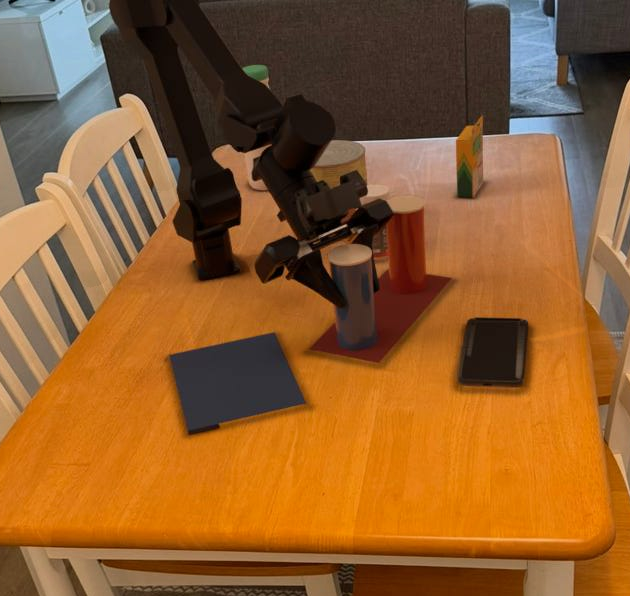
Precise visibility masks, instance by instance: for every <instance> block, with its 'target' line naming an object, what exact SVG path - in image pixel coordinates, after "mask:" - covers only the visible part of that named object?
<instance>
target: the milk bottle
mask: <svg viewBox="0 0 630 596" xmlns="http://www.w3.org/2000/svg"><path fill="white" fill-rule="evenodd" d="M241 68H242V69H243V70H244V71H245V73H246V74H247V75H248V76H250V77H252V78H254V79H256V80H258V81H260V82H262V83H264V84H265V85H266V86H267V87H268V88H269V89H270V90H271V88H270V86H269V81H270V78H269V70H268V69H269V68H268V67H267V66H266V65H263V64H252V65H247V66H244V67H241ZM269 146H271V145H268V146H265V147H262V148H259V149H256V150H253V151H250V152H247V153H243V154H244V161H245V167H246V173H247V179H248V183H249V186H250V187H251V188H252V189H254V190H258V191H268V189H267V187H266V186H265V184H264V182H263V181H262V179H261V180H258V181H253V180H252V169H253V159H254V158H256V157H259V156H260V155H261V153H262V152H263V151H264V150H265V149H266V148H267V147H269Z"/></svg>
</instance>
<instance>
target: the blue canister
mask: <svg viewBox="0 0 630 596" xmlns="http://www.w3.org/2000/svg"><path fill="white" fill-rule="evenodd" d="M326 256H327V260H328V268H329V275H330V277H331V278H332V280H333V282H334V283H335V285H336V286H337V288H338V290H339V291H340V293H341V295H342V297H343V299H344V301H345V303H346V306H345V307H344V308H342V309H340V308H338V307H337V306H335V305H334V304H333V303H332V305H333V312H334V321H335V322H334V323H336V332H337V341H338V344H339V346H340V347H342V348H344V349H347V350H363V349H367V348H370V347H372V346H373V345H374V344H376V342H377V340H378V334H377V321H376V308H375V296H374V283H373V270H372V257H371V256H372V250H371V249H370V248H369V247H367V246H364V245H360V244H342V245H338V246H336V247H333V248H332V249H330V250H329V251H328V253H327V255H326Z"/></svg>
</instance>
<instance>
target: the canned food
mask: <svg viewBox="0 0 630 596" xmlns="http://www.w3.org/2000/svg"><path fill="white" fill-rule="evenodd" d="M355 170H357V171H358V172H359V173H360V175H361V176H362V178H363V179H364V181H365V183H366V186H368V185H369V184H368V175H367V174H368V173H367V163H366V147H365V146H364V145H363V144H362V143H360V142H356V141H354V140H353V141H352V140H345V139H332V141H331V142H330V144H329V145H328V147H327V148H326V150H325V151H324V153H323V154H322V156H321V157H320V159H319V160H318V162H317V163H316V165H315V166H314V167H313V168H312V169H310V171H311V172H312V174H313V176H314V177H315V179H316V181H317V182H319V181H321V180H324V182H326V183H327V184H328V186H329V187H330V189H331V188H334V187H336V186H339V185H340V176H342V175H345V174H347V173H350V172H352V171H355ZM347 211H348V215H347V216H346V217H345V218H343V219H342V220H341V222H342V223H343V222H346V221H348V220H349V219H350V217H351V216H352V215H353V214H354V212H355V211H356V209H354V208H352V209H350V210H347ZM334 235H335V234H333V235H331V236H329V238H330V237H332V236H334Z"/></svg>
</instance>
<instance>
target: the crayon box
mask: <svg viewBox="0 0 630 596" xmlns="http://www.w3.org/2000/svg"><path fill="white" fill-rule="evenodd" d="M483 123H484V115H483V114H482V115H481V116H480V117H479V119H477V121H476V123H474V125H466V126H465V128H464V129H463V130H462V131H461V133H460V134H459V136H457V138H456V140H455V160H456V163H455V164H456V193H457V195H456V196H457V198H459V199H460V198H461V199H474V198H475V196H476V194H477V193H478V191H479V190H480V188H481V187H482V185H483V184H484V136H483V135H484V132H483V131H484V130H483V127H484V124H483Z"/></svg>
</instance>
